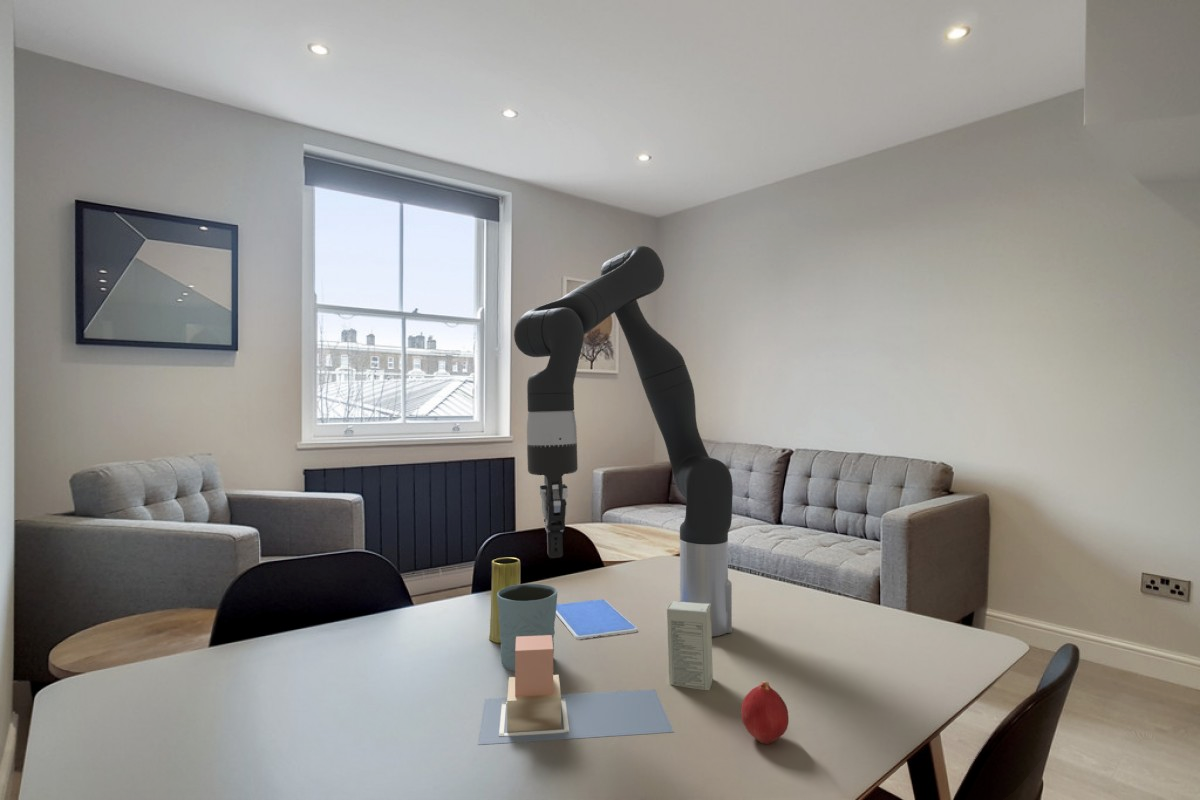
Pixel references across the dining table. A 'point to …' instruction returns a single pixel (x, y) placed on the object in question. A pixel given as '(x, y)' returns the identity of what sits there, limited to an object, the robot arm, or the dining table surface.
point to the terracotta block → (533, 665)
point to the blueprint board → (583, 718)
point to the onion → (764, 714)
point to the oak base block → (533, 709)
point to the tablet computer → (593, 619)
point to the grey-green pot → (524, 616)
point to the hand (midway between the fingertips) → (555, 556)
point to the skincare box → (690, 645)
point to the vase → (502, 577)
